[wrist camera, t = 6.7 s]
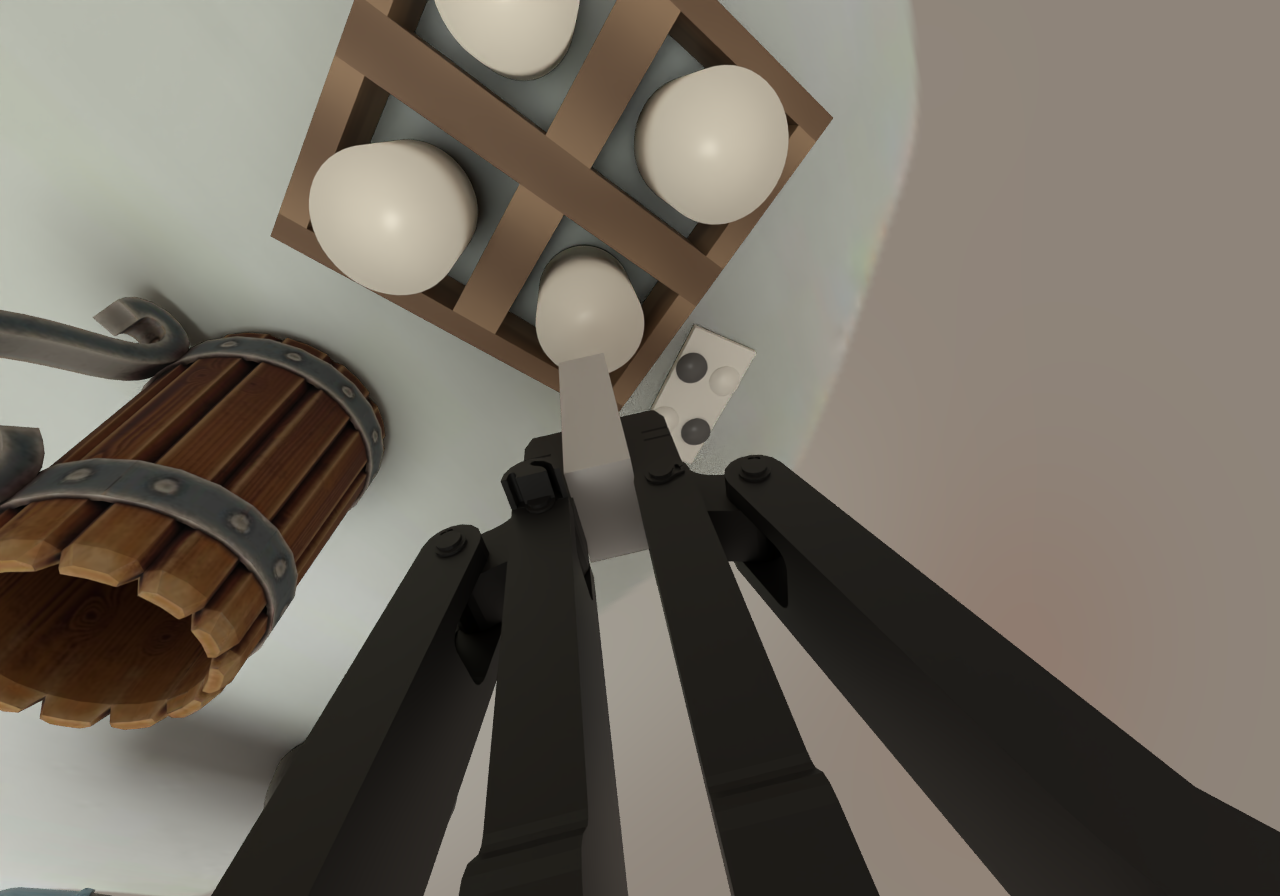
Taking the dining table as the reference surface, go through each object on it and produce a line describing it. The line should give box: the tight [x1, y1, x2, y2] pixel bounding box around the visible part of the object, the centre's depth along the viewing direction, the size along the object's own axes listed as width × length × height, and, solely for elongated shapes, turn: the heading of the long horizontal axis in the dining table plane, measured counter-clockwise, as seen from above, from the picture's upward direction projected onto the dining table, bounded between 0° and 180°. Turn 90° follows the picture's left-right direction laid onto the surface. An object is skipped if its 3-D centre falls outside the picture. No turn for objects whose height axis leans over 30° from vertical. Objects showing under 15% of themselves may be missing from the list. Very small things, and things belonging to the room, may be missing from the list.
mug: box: [0, 297, 385, 730], centre depth 21 cm, size 16×11×15 cm
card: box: [650, 325, 756, 464], centre depth 31 cm, size 8×4×1 cm, turn 155°
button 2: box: [536, 246, 644, 373], centre depth 25 cm, size 5×5×5 cm
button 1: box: [309, 139, 478, 295], centre depth 20 cm, size 5×5×5 cm
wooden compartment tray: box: [271, 0, 833, 412], centre depth 23 cm, size 16×16×4 cm
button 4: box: [634, 65, 789, 224], centre depth 20 cm, size 5×5×5 cm
